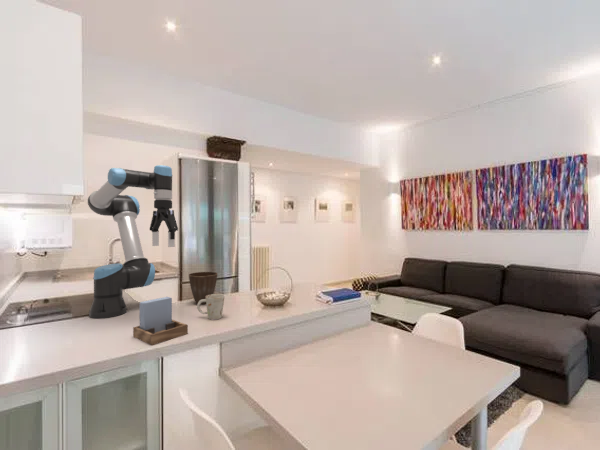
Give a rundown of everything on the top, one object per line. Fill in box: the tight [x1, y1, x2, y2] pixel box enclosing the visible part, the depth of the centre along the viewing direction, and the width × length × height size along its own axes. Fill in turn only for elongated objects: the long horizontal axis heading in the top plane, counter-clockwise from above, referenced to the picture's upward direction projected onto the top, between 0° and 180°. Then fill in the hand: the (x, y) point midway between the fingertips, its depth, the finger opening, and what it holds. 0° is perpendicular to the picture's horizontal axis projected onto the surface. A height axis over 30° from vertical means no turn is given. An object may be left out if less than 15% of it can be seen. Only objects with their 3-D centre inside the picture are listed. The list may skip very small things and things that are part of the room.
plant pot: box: [188, 271, 218, 306], centre depth 163 cm, size 15×15×16 cm
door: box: [139, 296, 173, 332], centre depth 117 cm, size 4×11×12 cm, turn 143°
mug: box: [196, 293, 225, 321], centre depth 137 cm, size 8×13×10 cm, turn 89°
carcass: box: [132, 319, 189, 346], centre depth 115 cm, size 14×14×4 cm
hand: (163, 246), depth 137 cm, fingers open, 13 cm apart
